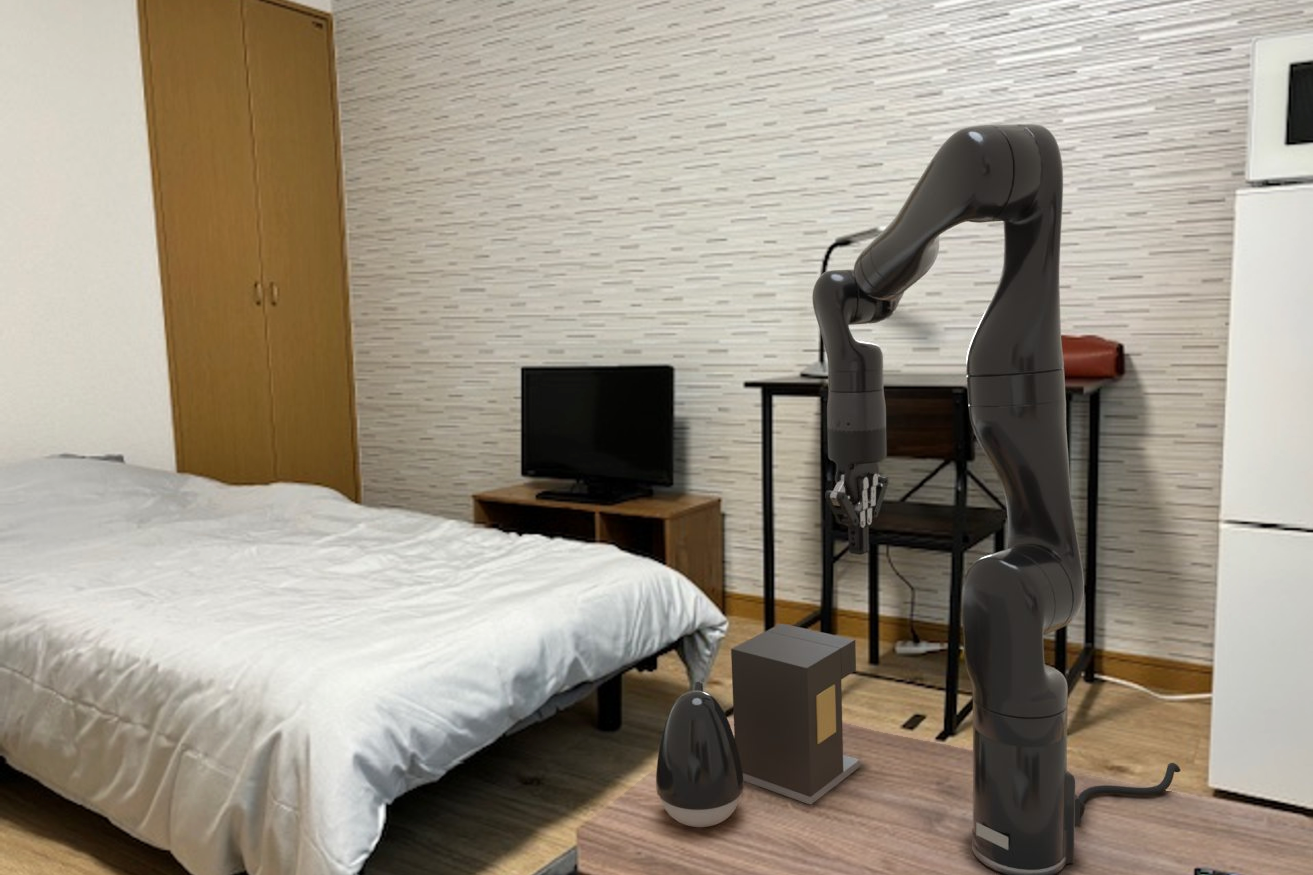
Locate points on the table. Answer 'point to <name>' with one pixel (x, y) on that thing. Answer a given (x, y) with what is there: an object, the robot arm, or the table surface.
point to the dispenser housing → (792, 710)
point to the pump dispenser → (698, 762)
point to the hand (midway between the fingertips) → (858, 552)
